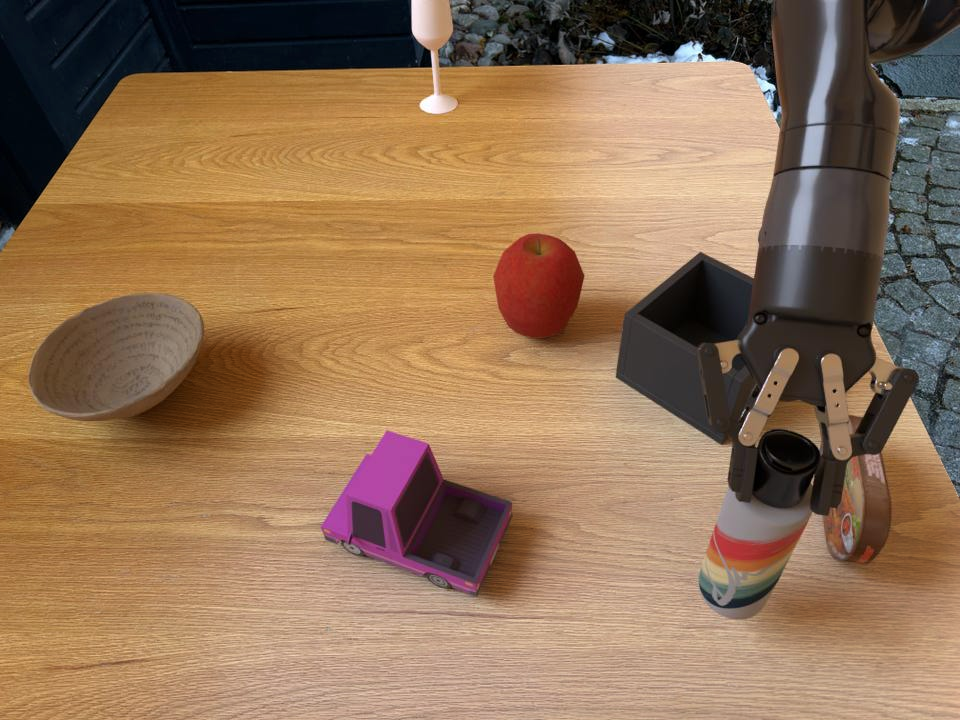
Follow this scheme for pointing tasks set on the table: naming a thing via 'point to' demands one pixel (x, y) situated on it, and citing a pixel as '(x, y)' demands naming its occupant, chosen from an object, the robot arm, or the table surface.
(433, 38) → the champagne flute
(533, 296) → the apple
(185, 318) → the bowl
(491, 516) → the toy truck
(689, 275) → the bin
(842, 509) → the tin
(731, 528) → the lotion bottle
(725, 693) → the table surface
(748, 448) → the robot arm
